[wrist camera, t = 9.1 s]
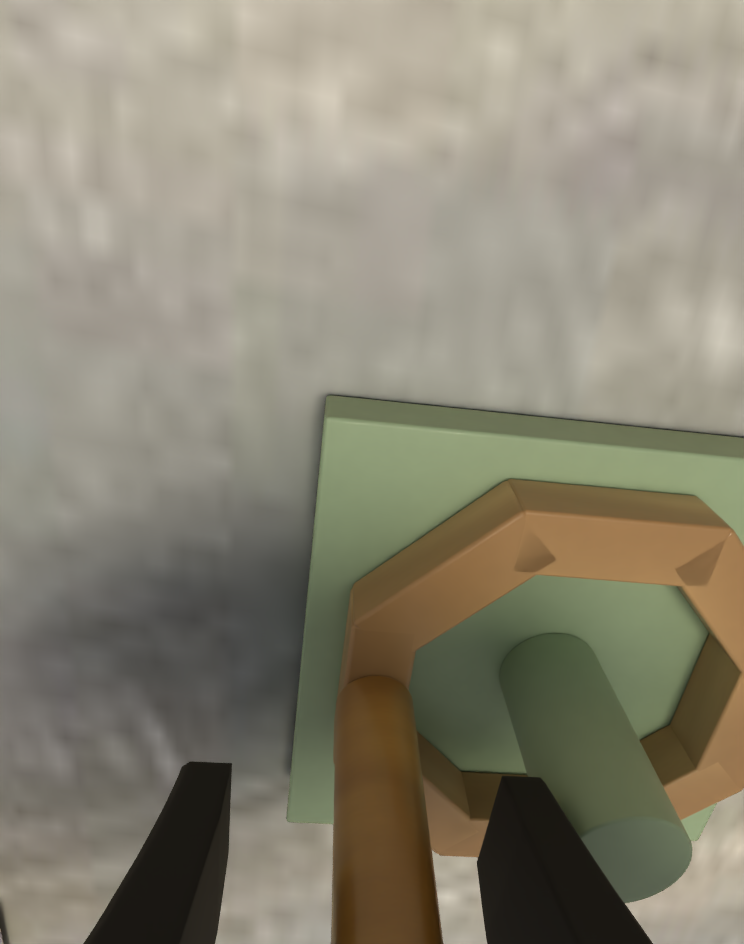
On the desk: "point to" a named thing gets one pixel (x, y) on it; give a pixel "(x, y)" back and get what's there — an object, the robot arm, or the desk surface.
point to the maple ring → (459, 597)
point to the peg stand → (517, 619)
